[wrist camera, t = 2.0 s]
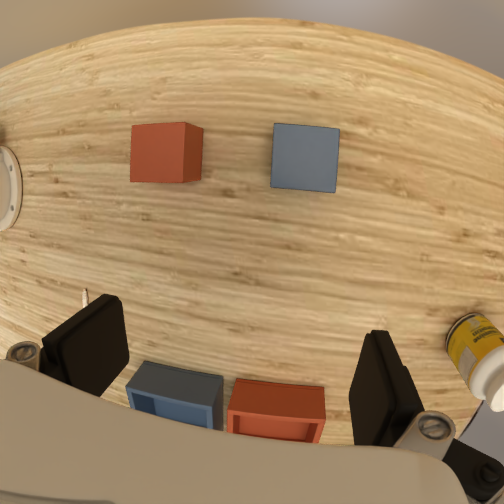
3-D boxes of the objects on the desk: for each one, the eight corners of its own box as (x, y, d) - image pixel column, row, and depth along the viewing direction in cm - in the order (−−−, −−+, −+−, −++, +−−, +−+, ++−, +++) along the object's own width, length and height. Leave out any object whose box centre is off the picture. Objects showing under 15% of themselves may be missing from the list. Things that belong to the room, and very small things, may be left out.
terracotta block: (156, 130, 28) (131, 125, 23) (203, 128, 27) (185, 121, 23) (154, 178, 29) (129, 182, 25) (201, 179, 29) (182, 182, 24)
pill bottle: (494, 320, 28) (543, 371, 17) (467, 362, 30) (504, 421, 19) (463, 303, 28) (515, 358, 17) (434, 350, 30) (471, 415, 19)
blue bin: (144, 360, 36) (125, 386, 31) (223, 376, 35) (212, 407, 29) (154, 414, 39) (139, 440, 33) (223, 430, 38) (214, 459, 32)
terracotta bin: (236, 378, 34) (226, 409, 29) (323, 386, 33) (326, 419, 28) (234, 431, 37) (226, 461, 32) (309, 439, 36) (308, 470, 31)
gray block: (277, 130, 26) (273, 123, 22) (332, 135, 26) (340, 128, 21) (274, 183, 28) (270, 187, 23) (328, 188, 27) (335, 193, 23)
